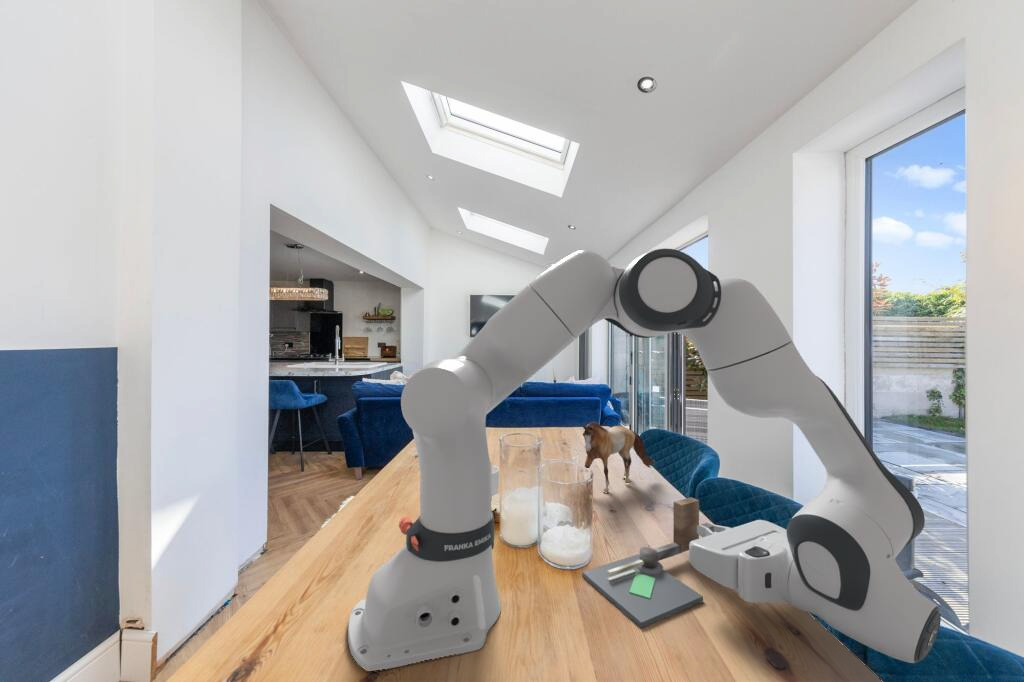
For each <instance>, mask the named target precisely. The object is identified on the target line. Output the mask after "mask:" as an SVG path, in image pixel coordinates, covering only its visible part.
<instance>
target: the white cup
mask: <svg viewBox="0 0 1024 682" xmlns="http://www.w3.org/2000/svg"><path fill="white" fill-rule="evenodd" d="M491 465H492V496H493V495H495V494H499V493H498V492H499V477H500V468H499V467H498V466H496V465H493V464H491ZM491 501H492V498H491Z"/></svg>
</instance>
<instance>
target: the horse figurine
mask: <svg viewBox="0 0 1024 682" xmlns="http://www.w3.org/2000/svg"><path fill="white" fill-rule="evenodd" d="M582 428H583V430H584V431H583V433H582V436H583V437H584V440H585V441H584V448H585V453H586V458H585V459H586V460H585V462H584V467H586V468H589V469H590V467H591V466H592V464H593V462H594V461H595V460H596V459H599V460H601V461H602V465H603V474H604V477H605V485H604V487H603V490H602V492H603V491H605V492H608V493H609V490H610V488H609V486H610V480H609V468H608V463H609V462H608V460H609V457H610V456H611V455H614V454H617V453H618V455H619V457H621V459H622V460H623V465H624V474H623V476H626V479H624V484H625V483H630V484H631V479H630V468H631V465H632V457H631V453H630V451H631V449H632V447H633V450H634V452H635V453H636V455H637V457H638V458H639V459H640V460H641V462H642V464H643V465H645V466H646V467H648V468H651V466H654V463H656V460H653V459H651V458H650V457H649V456H648V455H647V453H646V452H647V451H646V448H645V443H644V441H643V439H642V437H641V436H640V435H639V434H638V433H637V432H635V431H634V430H632V429H629V428H628V427H626V426H623V425H622V426H621V425H614V426H612V427H611V428H609V429H608V430H607V429H606V428H604V427H603V426H602V425H600V424H599V423H598V422H595V421H591V422H589V423H588V424H587V425H586V426H585V425H582Z"/></svg>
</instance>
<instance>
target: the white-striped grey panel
mask: <svg viewBox="0 0 1024 682" xmlns="http://www.w3.org/2000/svg"><path fill="white" fill-rule="evenodd" d="M638 560H640V553H637V554H635V555H631V556H628V557H625V558H621V559H619V560H615V561H613V562H609V563H605V564H603V565H600V566H596V567H593V568H591V569H588V570H584V571H582V572H581V573H582V574H581V577H582V578H583V579H584V580H586V581H587V582H588V583H589V584H591V586H593V587H594V588H595V589H596V590H597V591H598V592H600V594H601V595H603V596H604V597H605V598H606V599H608V600H609V602H611V603H612V604H613V605H614V606H615V607H617V609H619V610H620V611H621V612H623V614H625V615H626V616H627V617H628V618H629V619H630V620H632V621H633V622H634V623H635V625H637V626H639V628H642V629H643V628H645V627H647V626H649V625H651V624H654V623H656V622H658V621H660V620H662V619H665V618H667V617H670V616H672V615H674V614H677V613H679V612H681V611H684V610H686V609H688V608H690V607H693V606H695V605H698V604H700V603H702V602H704V596H703V595H702V594H701V593H699V592H697V591H696V590H694V589H693V588H692V587H689V586H688V585H687V584H686V583H684V582H682V581H681V580H680V579H677V578H676V577H674V576H673V575H672V574H670V573H668V572H667V571H665V570H664V569H663V568H664V567H663V565H662V564H661V562H659V561H658V566H657V567H655V568H649V567H645V566H643V565H642V566H639V567H636V568H633V569H630V570H627V571H624V572H621V573H618V574H615V575H612V576H609V575H608V574H607V570H610V569H613V568H616V567H620V566H623V565H626V564H629V563H632V562H635V561H638Z"/></svg>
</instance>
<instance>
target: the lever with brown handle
mask: <svg viewBox="0 0 1024 682" xmlns="http://www.w3.org/2000/svg"><path fill="white" fill-rule="evenodd" d="M697 525H700V500H698V499H697V498H694V497H692V496H691V497H687V498H684V499H683V498H682V499H679V500H675V501H673V542H671V543H667V544H665V545H662V546H658V547H655V548H652V547H649V546H648V547H647V546H645V547H644V546H643V547H641V548H639V555H640V560H638V561H635V562H632V563H629V564H626V565H623V566H620V567H616V568H613V569H610V570H607V574H608V575H609V576H612V575H615V574H618V573H621V572H624V571H627V570H630V569H633V568H636V567H639V566H642V565H643V566H645V567H649V568H655V567H657V566H658V562H659V561H662V560H666V559H668V558H670V557H671V558H672V557H674V556H678V555H680V554H683V553H684V552H687V551H688V552H689V544H690V542H691V541H693V540H696V539H699V538H700V535H698V534H697Z"/></svg>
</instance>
